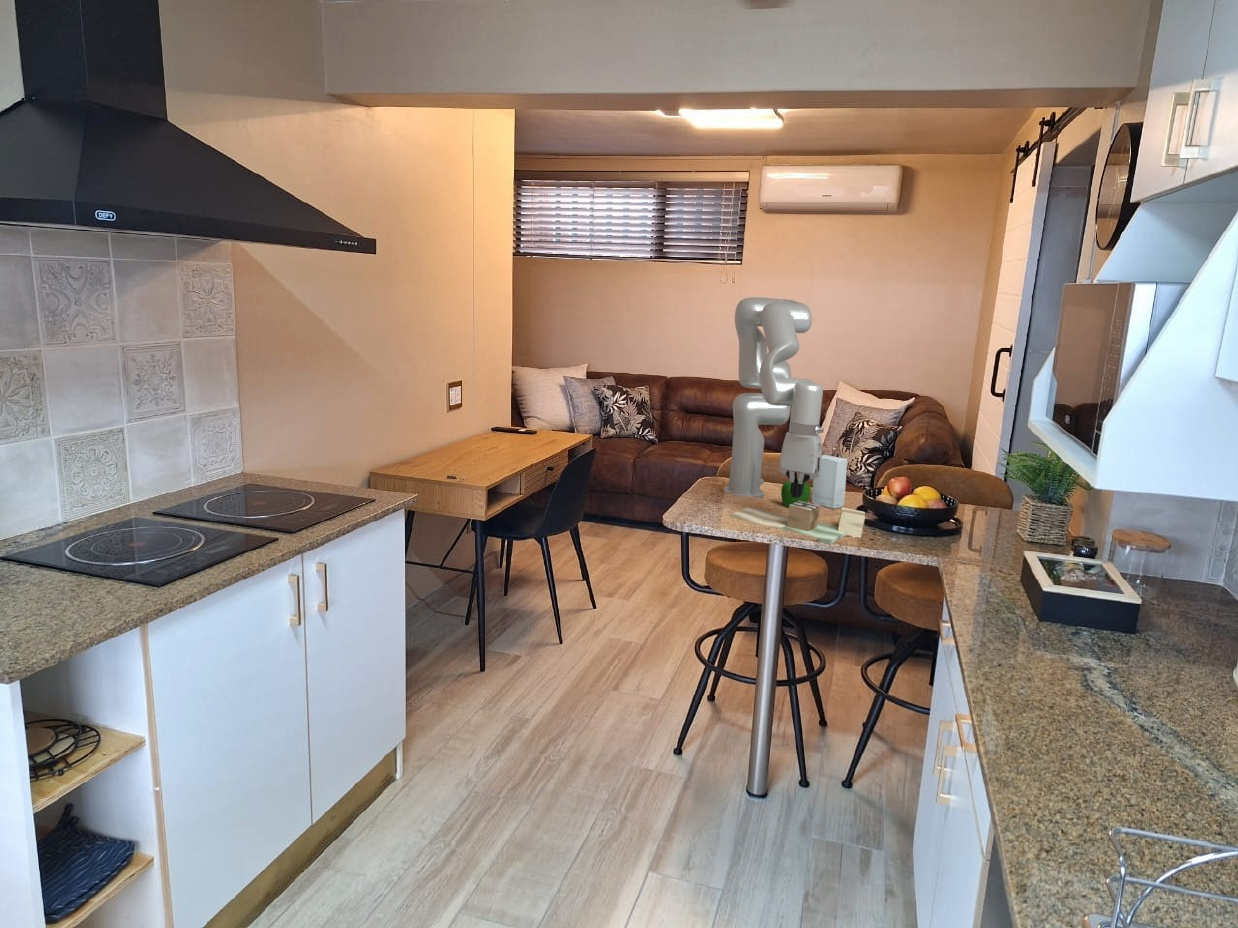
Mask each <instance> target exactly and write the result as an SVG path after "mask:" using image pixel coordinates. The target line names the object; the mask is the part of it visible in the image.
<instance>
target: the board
mask: <svg viewBox="0 0 1238 928" xmlns="http://www.w3.org/2000/svg"><path fill="white" fill-rule="evenodd" d="M726 517H728V518H732V519H736V520H740V521H746V522H749V523H753V524H757V525H762V526H766V527H771V528H775V529H779V530H783V531H787V532H791V533H797V534H801V535H803V536H804V535H805V536H809V537H813V538H817V539H815V542H818V543H823V544H828V545H832V544H833V543H835V542H837V541H839V540H841V539H842V538H844V537H846V536H845V532H839V531H838V526H837V525H831V524H826V523H823V522H819V521H818V525H817V527H816V528H814V529H812V530H810V531H804V530H800V529H795V528H791V527H787V522H788V515H786V514H783V513H778V512H773V511H770V510H764V509H761V508H760V509H759V508H755V507H751V506H748V507H745V508H743V509H740V510H738V511H736V512H732V513H730V514H728V515H726ZM843 536H844V537H843ZM838 539H839V540H838ZM836 540H837V541H836ZM834 541H835V542H834Z"/></svg>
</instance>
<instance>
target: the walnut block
mask: <svg viewBox="0 0 1238 928" xmlns="http://www.w3.org/2000/svg"><path fill="white" fill-rule="evenodd" d="M820 508H821V505H816V504H812V502H811V503H810V502H808V503H806V502H801V501H798V502H795V503H793V504H790V505H789V508H788V513H787V514H788V515H787V516H788V522H787V527H791V528H795V529H800V530H804V531H810V530H812V529H814V528H816V527H817V525H818V522H819V514H820Z"/></svg>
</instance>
